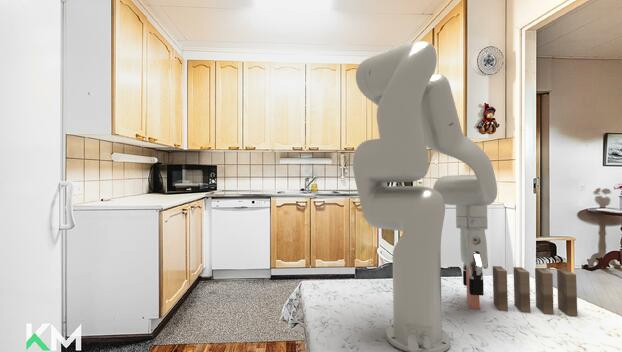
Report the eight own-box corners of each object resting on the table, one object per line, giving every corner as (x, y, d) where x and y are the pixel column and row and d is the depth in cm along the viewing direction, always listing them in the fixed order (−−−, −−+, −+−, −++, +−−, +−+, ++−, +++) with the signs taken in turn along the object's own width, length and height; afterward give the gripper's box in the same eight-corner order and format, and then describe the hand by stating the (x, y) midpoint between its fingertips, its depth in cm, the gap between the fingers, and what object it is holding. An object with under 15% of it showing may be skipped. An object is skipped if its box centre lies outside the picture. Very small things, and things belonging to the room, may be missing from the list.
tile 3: (530, 313, 83) (529, 272, 83) (521, 312, 83) (520, 271, 83) (523, 305, 87) (521, 267, 88) (514, 305, 88) (513, 267, 88)
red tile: (479, 309, 85) (478, 269, 86) (471, 308, 86) (470, 269, 86) (475, 302, 90) (474, 265, 90) (467, 301, 91) (466, 264, 91)
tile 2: (553, 314, 81) (552, 273, 82) (544, 314, 82) (543, 273, 82) (544, 307, 86) (543, 268, 86) (535, 306, 87) (535, 268, 87)
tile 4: (507, 311, 84) (506, 271, 84) (499, 310, 84) (498, 270, 85) (501, 304, 89) (500, 266, 89) (493, 303, 89) (492, 266, 89)
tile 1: (577, 316, 80) (576, 274, 80) (567, 315, 81) (566, 274, 81) (567, 309, 85) (565, 269, 85) (558, 308, 85) (556, 269, 86)
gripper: (496, 227, 79) (498, 302, 79) (479, 219, 96) (480, 281, 96) (462, 226, 81) (464, 300, 81) (451, 219, 98) (452, 280, 97)
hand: (472, 289), depth 88 cm, fingers open, 7 cm apart
